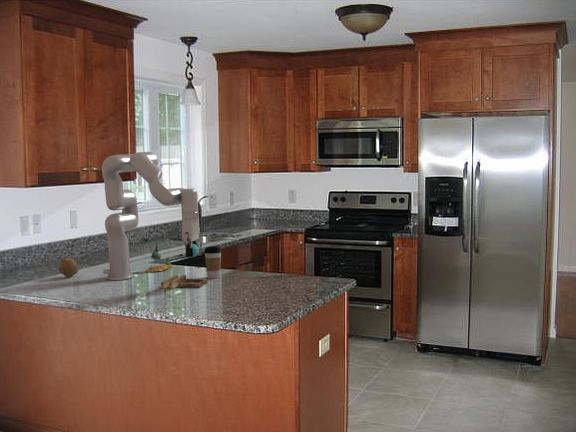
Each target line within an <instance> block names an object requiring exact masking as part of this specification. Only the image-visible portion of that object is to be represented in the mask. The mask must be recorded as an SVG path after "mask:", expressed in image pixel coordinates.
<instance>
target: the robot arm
mask: <svg viewBox="0 0 576 432" xmlns="http://www.w3.org/2000/svg"><path fill="white" fill-rule="evenodd" d="M158 161H159V160H158V157H157V155H156V154H155V153H153V152H152V151H139V152H134V153H129V154H128V153H126V154H122V153H121V154H114V155H110V156H108V157H107V158H105V159H104V161H103V163H102V165H101V173H102V178H103V183H104V184H103V185H104V195H105V204H106V208H108V210H110V211H121V212H116V213H112V214H110V215H108V216H107V217H106V218H105V220H104V228H105V232H106V236H107V244H108V245H107V247H108V261H109V268H108V269H106V268H104V269H103V270H102V274H104V275H105V274H107V276H106V279H107V280H109V281H125V280H130V279H132V278H134V274H133V273H132V272H131V264H130V263H131V261H130V247H129V239H128V237H127V235H126V233H125V232H128V231H129V232H130V231H134V230H135V229H137V227H138V224H139V208H138V207H139V206H138V201H137V196H136V194H135V192H134V191H133V190H130V189H126V188H125V189H124V186H123V185H124V183H123V179H122V177H121V175H120V174H119V173H129V172H130V173H132V172H136V173H137V174H138V175H139V176H140V177H141V178H142V179H143V180H144V181H145V182H147V184H148V185H147V186H148V189H149V192H150V193H151V196H152V197H153V198H154V199H155V200H156V201H157V202H158V203H160V204H161V205H162V206H166V207H170V206H171V207H172V206H179V205H180V208H181V220H182V221H181V241H182V242H183V243H184V247H185V248H184V249H185V257H186V258H194V257H193V248H192V244H195V245H197V246H199V238H200V228H199V220H200V218H199V200H198V198H199V197H198V190H197V189H196V188H182V187H176V188H166V186H164V185H163V184H162V183H161V182H160V180H161V179H162V177H163V171H162V169H161V168H159V166H158V165H159V162H158Z"/></svg>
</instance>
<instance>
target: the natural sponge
mask: <svg viewBox="0 0 576 432" xmlns="http://www.w3.org/2000/svg"><path fill="white" fill-rule="evenodd" d="M58 266H59V267H58V271H59V272H60V274H61V275H63V276H64V277H66V278H68V279H69V278H72V277H73V276H74V275H76V274H78V272H79V266H78V264H77V262H76V260H75V259H73V258H71V257H65V258H62V260H61V261H60V262H59V265H58Z"/></svg>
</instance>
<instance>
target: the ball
mask: <svg viewBox="0 0 576 432" xmlns="http://www.w3.org/2000/svg"><path fill="white" fill-rule="evenodd" d="M192 248H193V257H192V258H195V257H196V256H198V255H199V251H200V249H199V245H195V244H192Z"/></svg>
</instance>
